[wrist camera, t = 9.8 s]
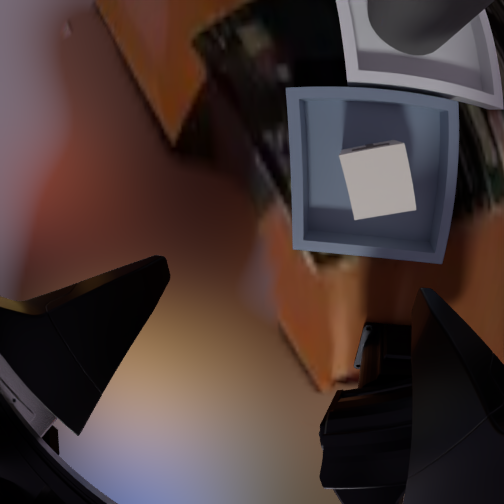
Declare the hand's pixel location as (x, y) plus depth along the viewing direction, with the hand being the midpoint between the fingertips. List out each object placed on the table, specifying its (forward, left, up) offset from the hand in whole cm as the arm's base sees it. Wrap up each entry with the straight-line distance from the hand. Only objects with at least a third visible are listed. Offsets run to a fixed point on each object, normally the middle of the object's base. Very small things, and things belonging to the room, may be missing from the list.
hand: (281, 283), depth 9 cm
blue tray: (+2, -4, -13) cm, 14 cm away
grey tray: (+14, -8, -13) cm, 20 cm away
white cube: (+2, -4, -13) cm, 13 cm away
